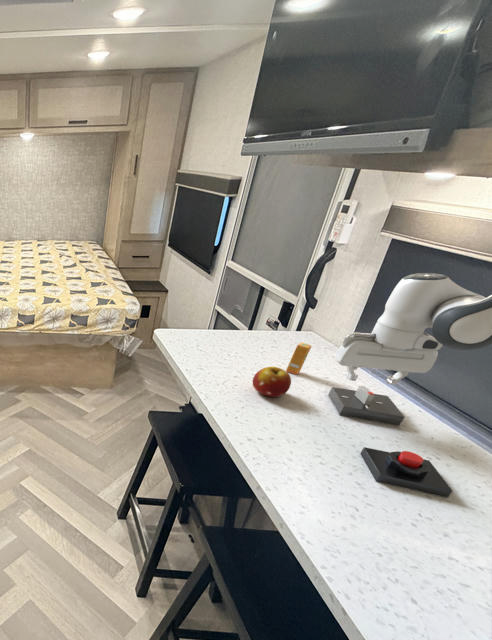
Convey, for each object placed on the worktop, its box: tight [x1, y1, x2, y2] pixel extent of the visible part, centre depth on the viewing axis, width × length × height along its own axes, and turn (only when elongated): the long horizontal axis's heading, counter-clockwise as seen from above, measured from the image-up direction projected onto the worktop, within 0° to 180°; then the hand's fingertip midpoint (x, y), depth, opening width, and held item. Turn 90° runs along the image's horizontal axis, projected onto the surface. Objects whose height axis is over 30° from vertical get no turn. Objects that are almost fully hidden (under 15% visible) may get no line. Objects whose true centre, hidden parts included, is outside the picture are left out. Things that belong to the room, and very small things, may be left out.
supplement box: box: [285, 342, 312, 376], centre depth 129 cm, size 3×3×10 cm
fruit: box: [252, 366, 292, 398], centre depth 118 cm, size 10×9×8 cm
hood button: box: [398, 450, 424, 468], centre depth 88 cm, size 4×4×2 cm
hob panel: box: [327, 386, 406, 427], centre depth 111 cm, size 13×11×3 cm
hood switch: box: [359, 446, 453, 499], centre depth 89 cm, size 12×10×4 cm
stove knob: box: [355, 385, 375, 405], centre depth 110 cm, size 5×1×3 cm, turn 167°
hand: (370, 381), depth 108 cm, fingers open, 8 cm apart
